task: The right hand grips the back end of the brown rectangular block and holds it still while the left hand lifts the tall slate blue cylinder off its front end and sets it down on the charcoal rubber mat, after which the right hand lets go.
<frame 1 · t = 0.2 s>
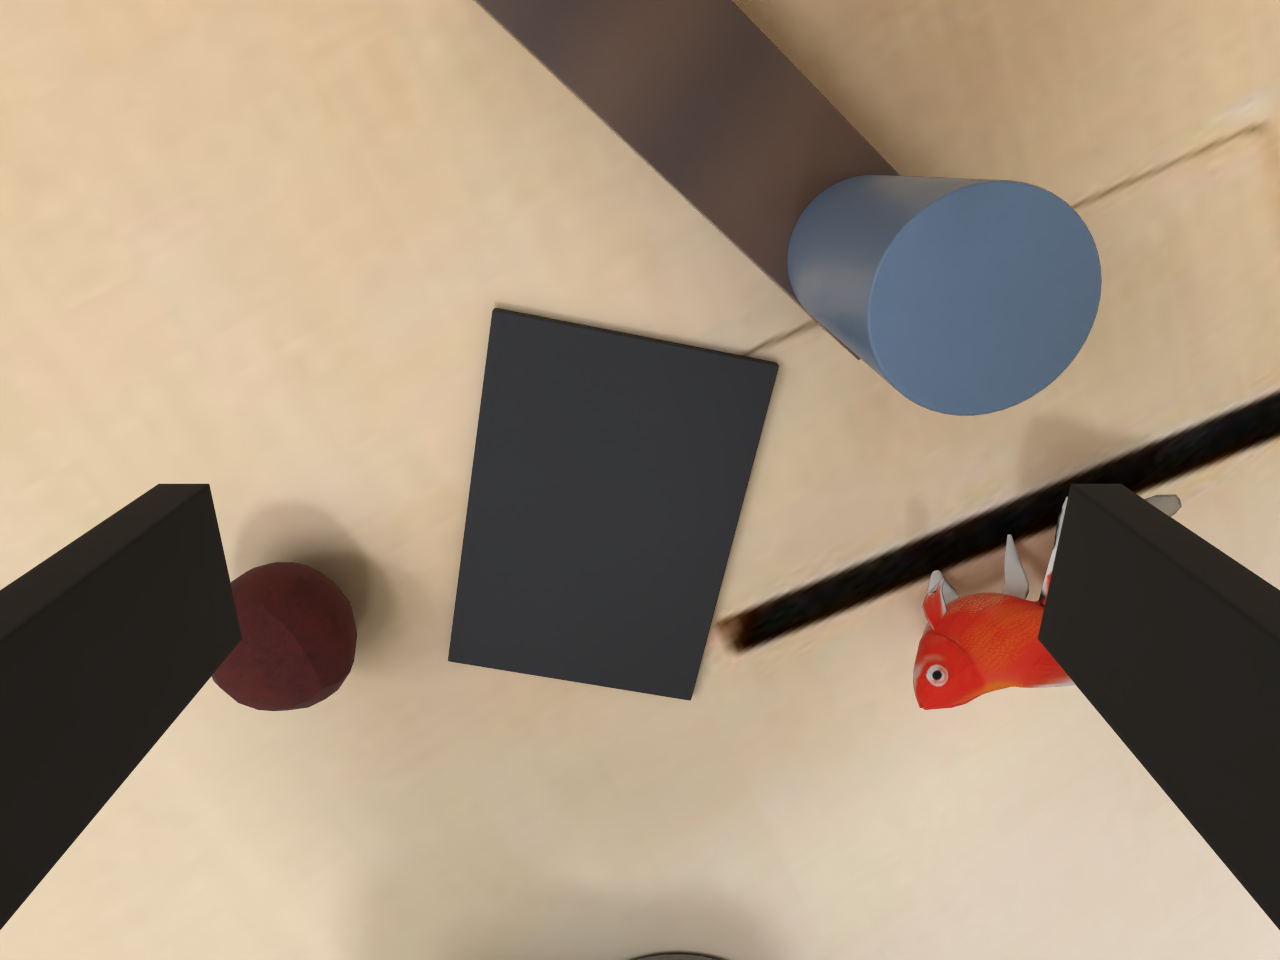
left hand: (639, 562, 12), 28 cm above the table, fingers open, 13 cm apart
mat: (601, 519, 43), on the table
fish: (1008, 557, 43), on the table
potato: (309, 601, 44), on the table
slate blue cylinder: (862, 255, 32), point 6 cm above the table, touching brown rectangular block
brown rectangular block: (703, 118, 35), on the table, touching slate blue cylinder
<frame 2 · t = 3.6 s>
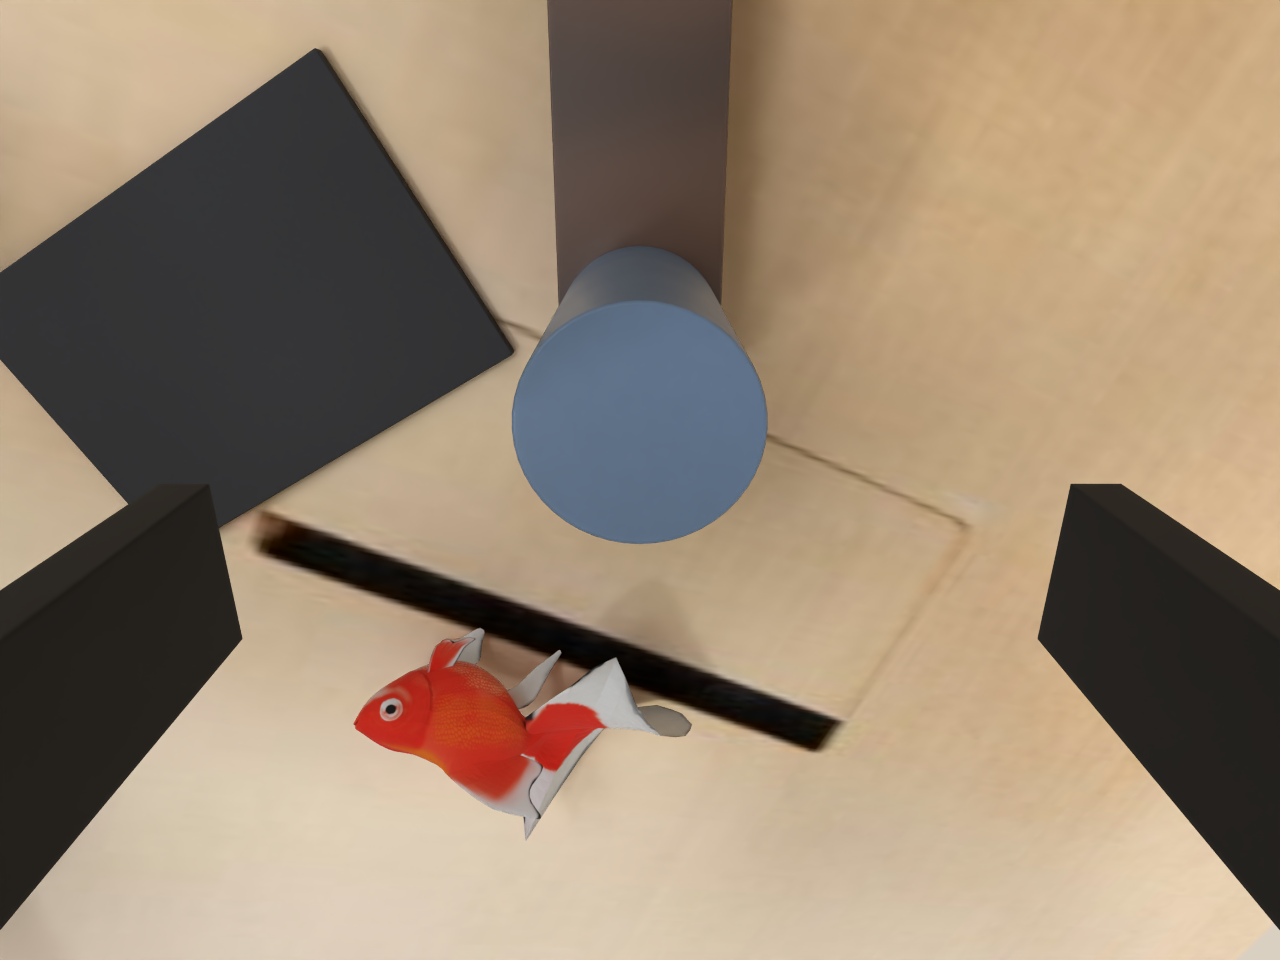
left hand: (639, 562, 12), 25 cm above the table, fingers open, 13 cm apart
mat: (241, 328, 36), on the table
fish: (544, 667, 43), on the table
slate blue cylinder: (639, 329, 30), point 6 cm above the table, touching brown rectangular block
brown rectangular block: (639, 102, 32), on the table, touching slate blue cylinder
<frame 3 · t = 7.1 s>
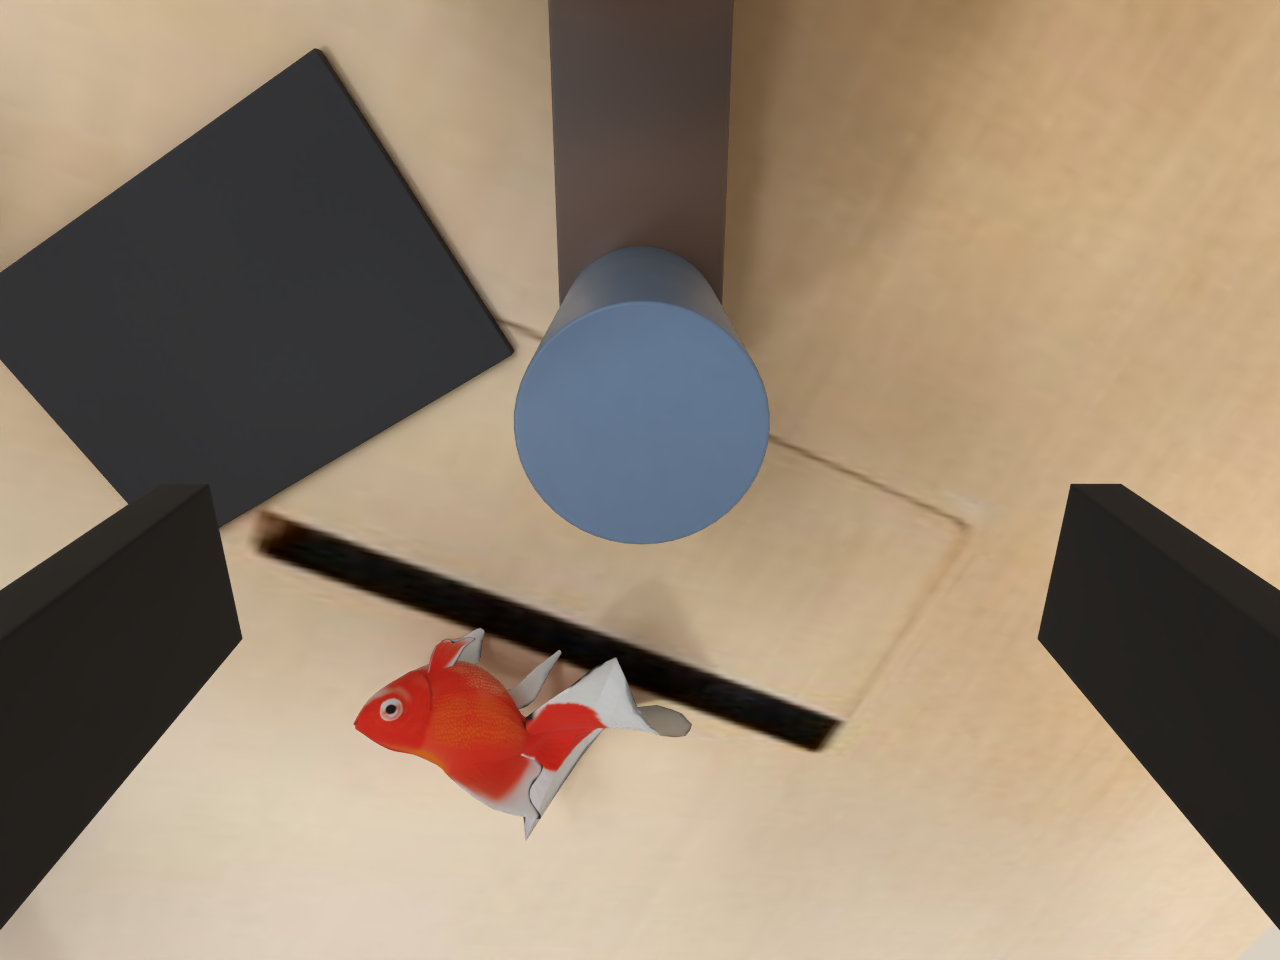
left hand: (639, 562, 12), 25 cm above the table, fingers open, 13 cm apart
mat: (241, 328, 36), on the table
fish: (544, 667, 43), on the table
slate blue cylinder: (640, 329, 30), point 6 cm above the table, touching brown rectangular block
brown rectangular block: (640, 103, 32), on the table, touching slate blue cylinder, right hand
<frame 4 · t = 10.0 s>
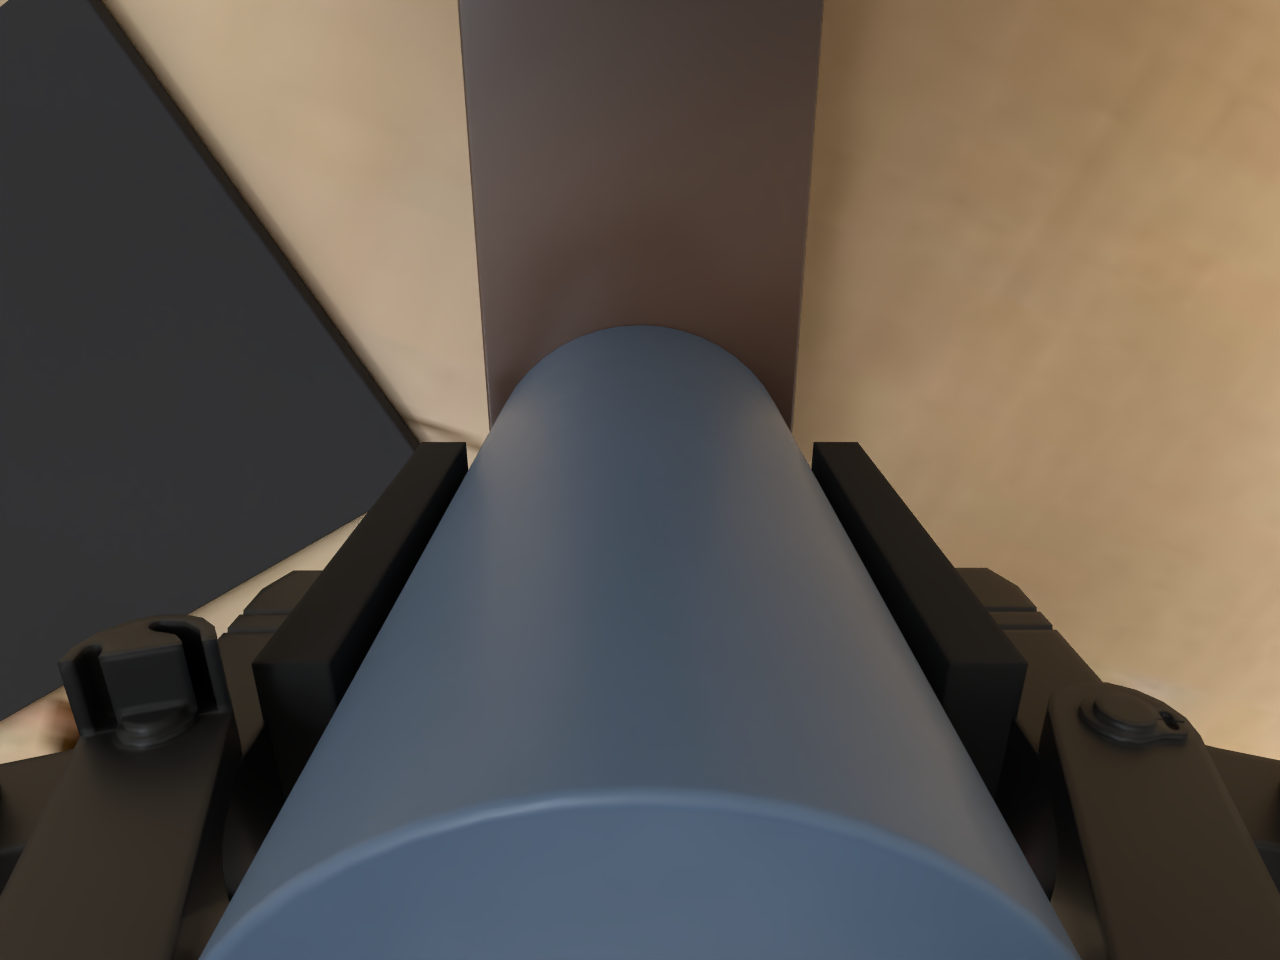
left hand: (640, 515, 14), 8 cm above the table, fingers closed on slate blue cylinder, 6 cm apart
slate blue cylinder: (640, 473, 16), point 6 cm above the table, touching brown rectangular block, left hand
brown rectangular block: (640, 61, 19), on the table, touching slate blue cylinder, right hand
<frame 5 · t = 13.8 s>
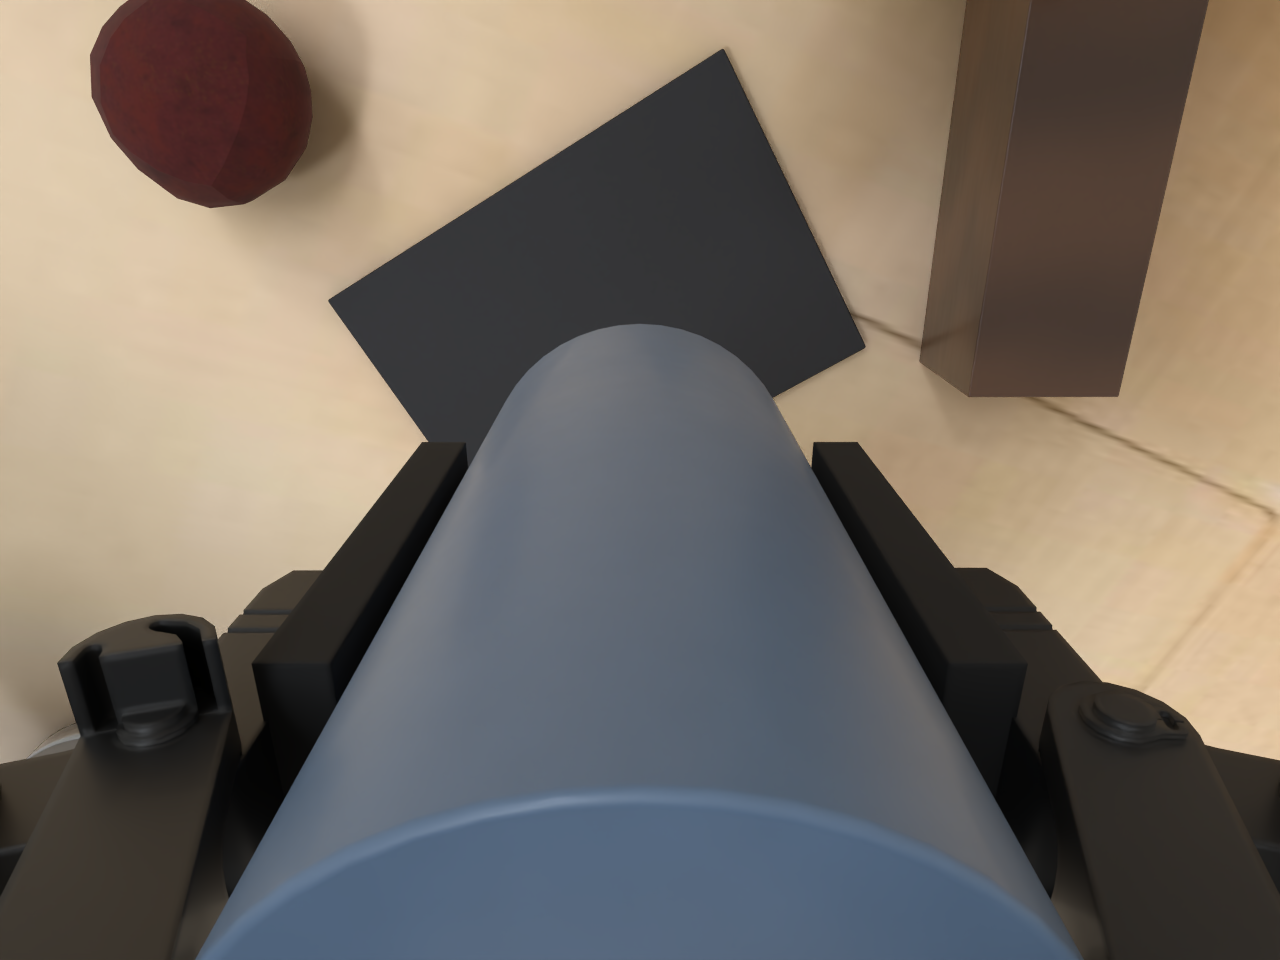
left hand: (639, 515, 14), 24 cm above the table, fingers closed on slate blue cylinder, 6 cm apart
mat: (600, 321, 37), on the table
potato: (250, 105, 33), on the table
slate blue cylinder: (639, 472, 16), point 22 cm above the table, touching left hand
brown rectangular block: (1025, 102, 33), on the table, touching right hand
when the left hand's fingers open (4 cm above the table, at t = 17.6 s): slate blue cylinder drops 1 cm, resting on mat.
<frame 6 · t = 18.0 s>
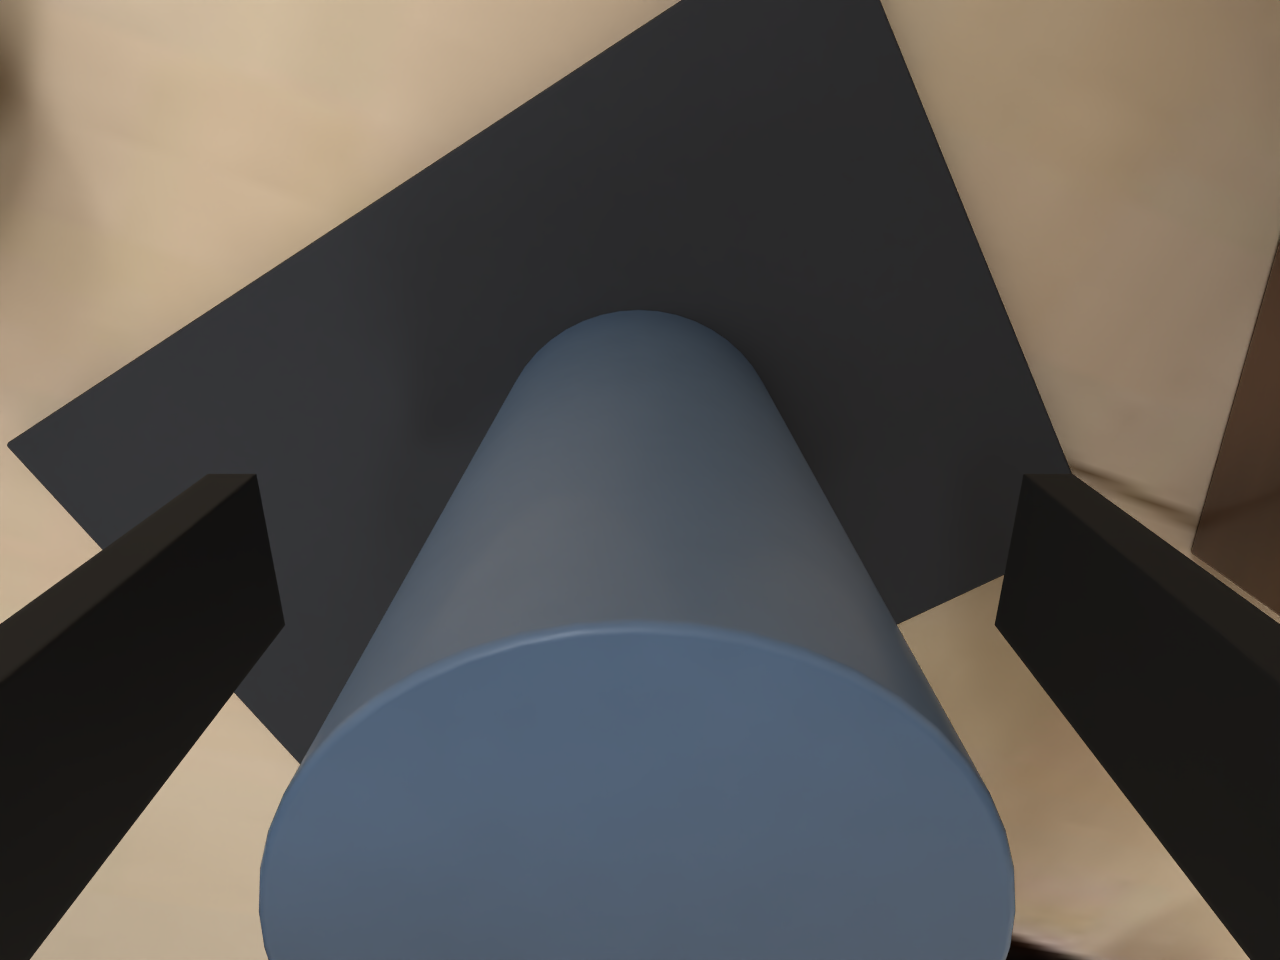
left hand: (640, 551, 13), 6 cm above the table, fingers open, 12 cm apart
mat: (564, 479, 18), on the table
slate blue cylinder: (638, 447, 18), point 1 cm above the table, touching mat
when the right hand's fingers open (2 cm above the table, at t = 20.8 s): brown rectangular block stays where it is, on the table.
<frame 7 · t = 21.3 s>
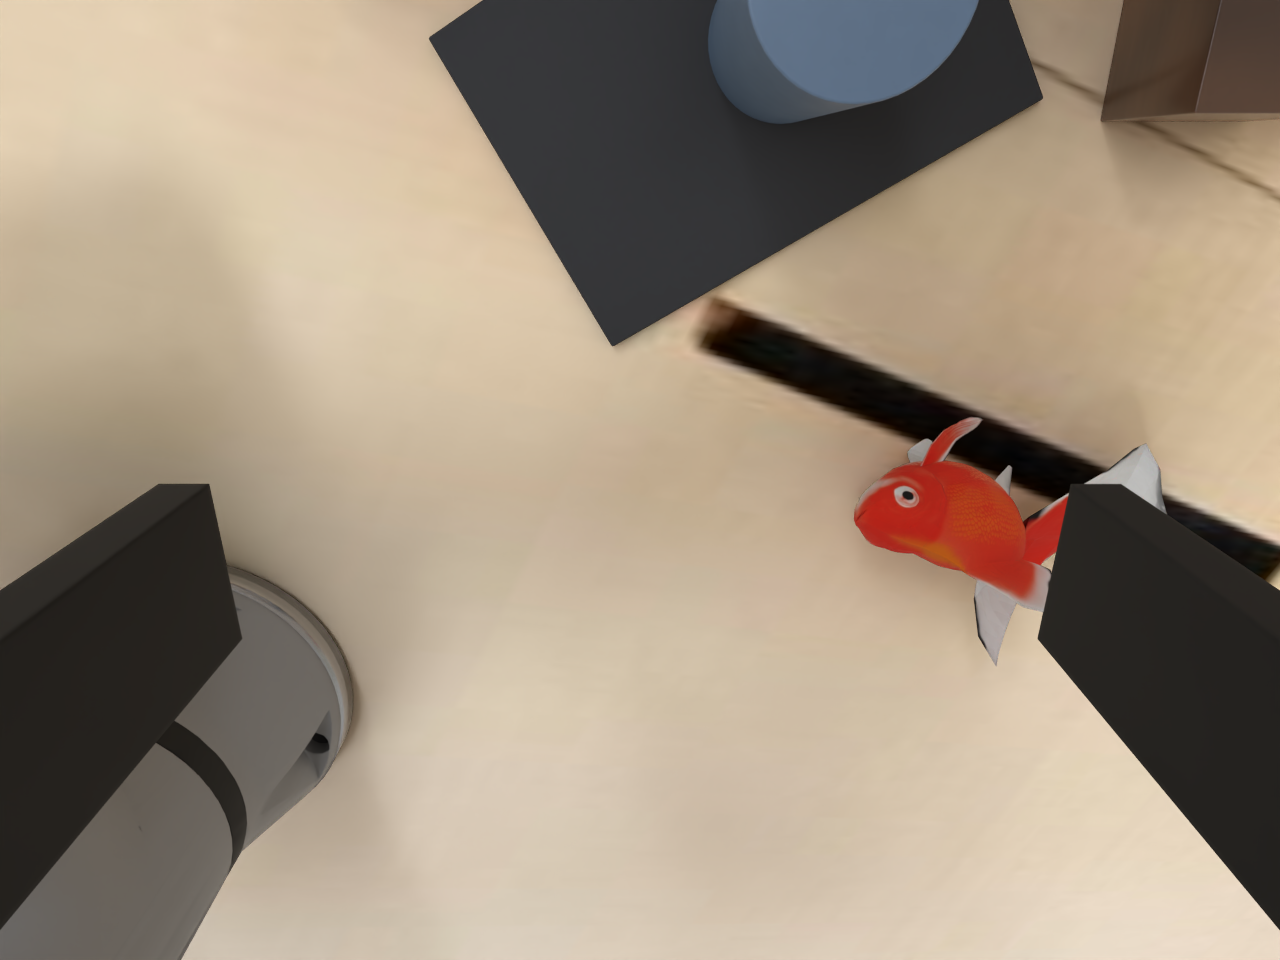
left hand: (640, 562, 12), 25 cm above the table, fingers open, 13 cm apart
mat: (738, 70, 32), on the table
fish: (984, 487, 39), on the table
slate blue cylinder: (785, 39, 31), point 1 cm above the table, touching mat
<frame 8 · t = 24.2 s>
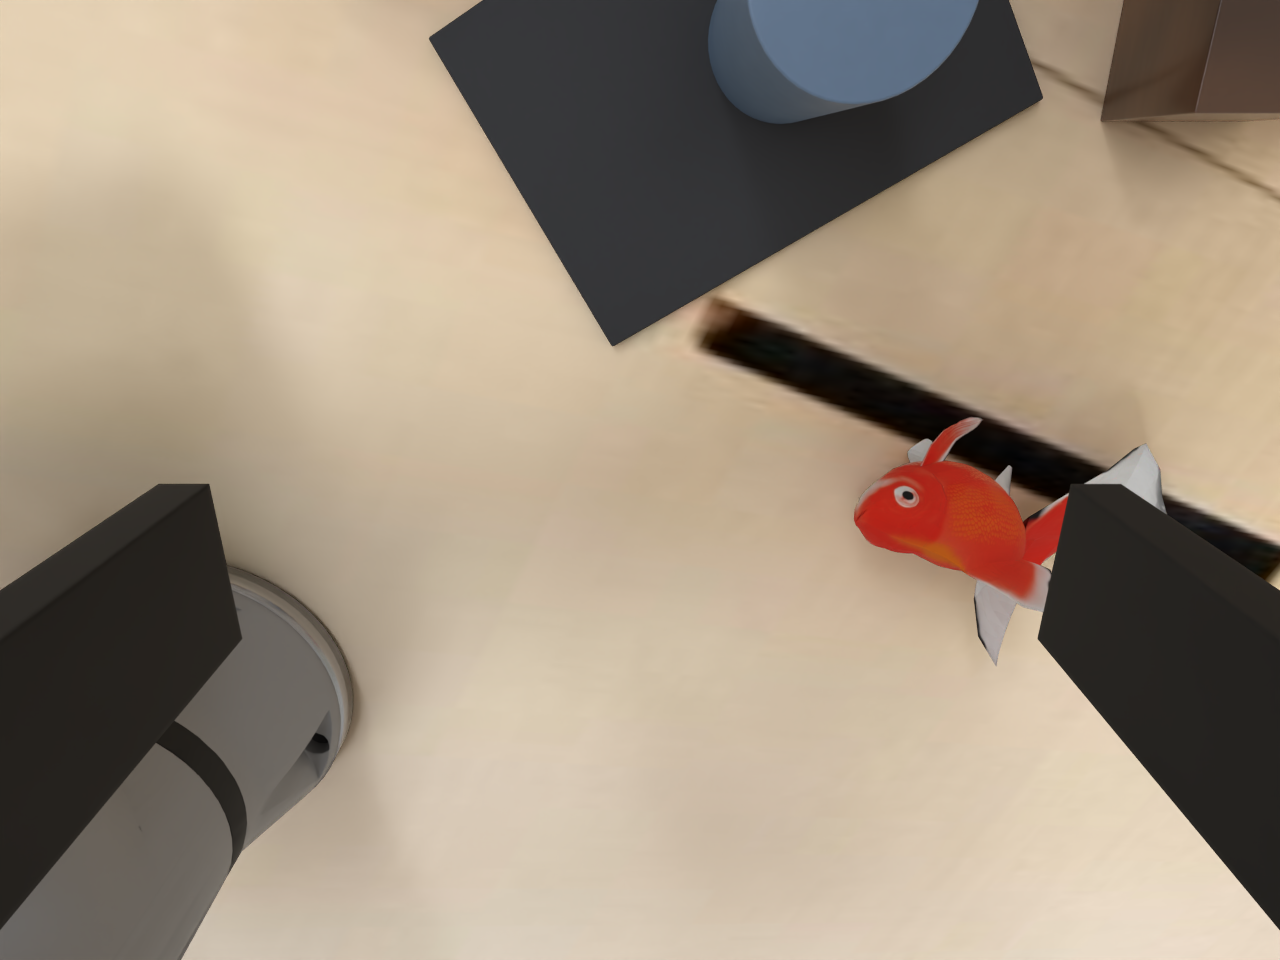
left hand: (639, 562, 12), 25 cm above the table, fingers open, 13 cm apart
mat: (738, 70, 32), on the table
fish: (984, 487, 39), on the table
slate blue cylinder: (785, 39, 31), point 1 cm above the table, touching mat
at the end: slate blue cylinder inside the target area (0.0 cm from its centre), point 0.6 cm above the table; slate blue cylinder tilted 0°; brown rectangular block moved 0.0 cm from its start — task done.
